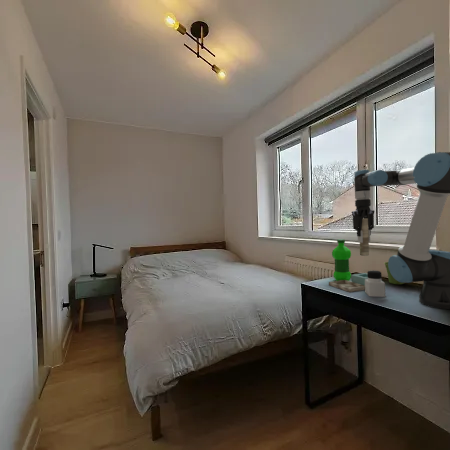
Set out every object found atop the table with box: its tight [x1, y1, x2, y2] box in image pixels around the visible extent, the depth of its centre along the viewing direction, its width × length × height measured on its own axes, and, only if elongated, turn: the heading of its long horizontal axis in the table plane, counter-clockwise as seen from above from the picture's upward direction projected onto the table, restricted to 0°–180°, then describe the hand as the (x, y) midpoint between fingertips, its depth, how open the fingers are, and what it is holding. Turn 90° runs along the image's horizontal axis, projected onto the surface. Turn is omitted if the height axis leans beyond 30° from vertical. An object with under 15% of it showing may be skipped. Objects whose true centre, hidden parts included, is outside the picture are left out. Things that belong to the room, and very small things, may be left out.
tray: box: [328, 280, 365, 293], centre depth 148 cm, size 16×11×2 cm
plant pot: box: [383, 261, 406, 285], centre depth 152 cm, size 12×12×11 cm
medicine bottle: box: [364, 269, 386, 298], centre depth 134 cm, size 7×7×12 cm
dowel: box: [359, 218, 370, 257], centre depth 149 cm, size 4×4×20 cm
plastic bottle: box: [331, 238, 352, 281], centre depth 161 cm, size 10×10×25 cm
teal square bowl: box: [351, 272, 368, 285], centre depth 150 cm, size 10×10×6 cm
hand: (364, 241), depth 149 cm, fingers closed on dowel, 4 cm apart
